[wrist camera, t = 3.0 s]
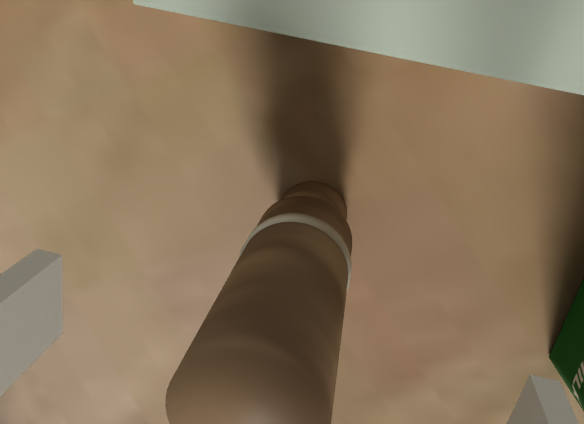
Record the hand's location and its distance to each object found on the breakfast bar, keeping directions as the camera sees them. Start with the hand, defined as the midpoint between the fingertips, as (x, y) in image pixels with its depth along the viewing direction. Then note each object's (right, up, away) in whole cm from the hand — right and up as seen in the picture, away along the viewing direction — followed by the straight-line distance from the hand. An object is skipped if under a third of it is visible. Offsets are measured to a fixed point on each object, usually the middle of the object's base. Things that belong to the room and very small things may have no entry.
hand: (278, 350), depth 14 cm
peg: (+1, +4, +10) cm, 11 cm away
